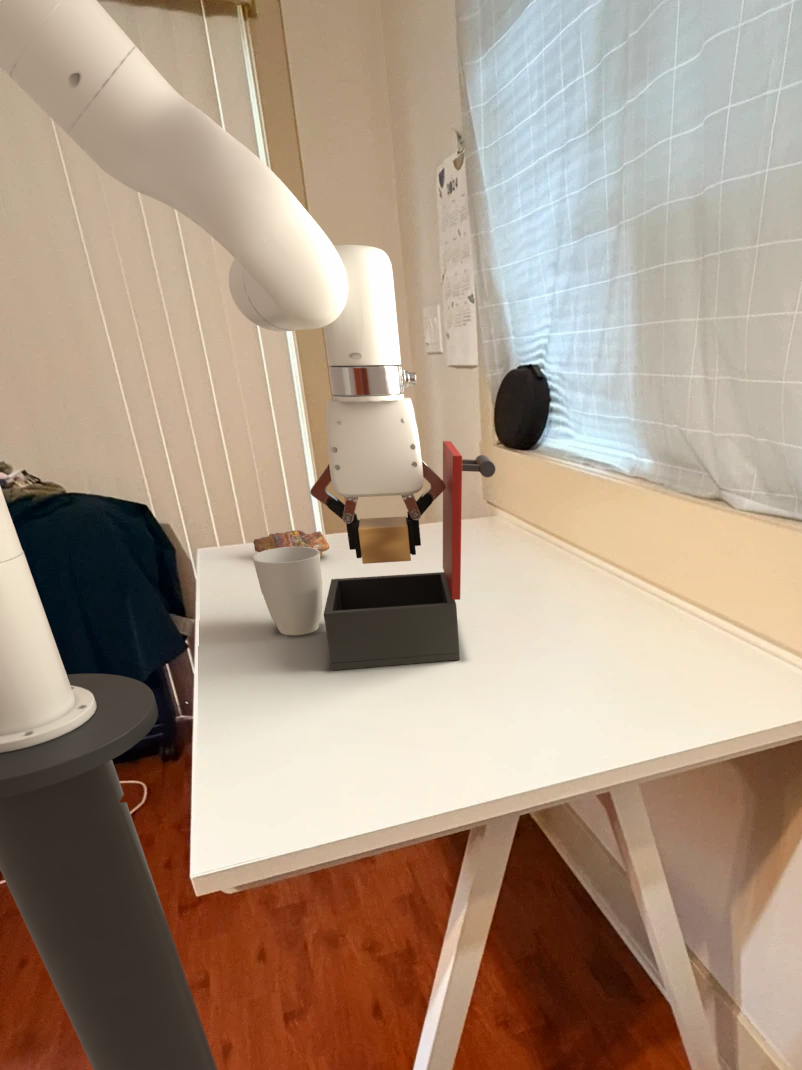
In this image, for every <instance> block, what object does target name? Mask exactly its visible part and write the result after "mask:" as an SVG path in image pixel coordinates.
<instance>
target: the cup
mask: <svg viewBox="0 0 802 1070" xmlns="http://www.w3.org/2000/svg"><path fill="white" fill-rule="evenodd" d="M252 560H253V566H254V569H255V573H256V576H257V580H258V584H259V588H260V591H261V593H262V596H263V599H264V602H265V605H266V607H267V610H268V612H269V615H270V616H271V619H272V620H273V622H274V624H275V625H276V627H277V629H278V631H279V632H280V634H282V635H284V636H303V635H309V634H311V633H313V632H316V631H317V630H319V627H320V622H321V615H322V610H323V575H322V564H321V557H320V552H319V550H317V549H314V548H310V547H281V548H274V549H269V550H265V551H262V552H257V553H255V554H253V556H252Z"/></svg>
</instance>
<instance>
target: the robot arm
mask: <svg viewBox="0 0 802 1070" xmlns="http://www.w3.org/2000/svg"><path fill="white" fill-rule="evenodd" d="M0 72H4V73H5V74H6V75H7V76H8V77H9V78H10V79H11V80H12V81H13V82H14V83H15V84H16V85H17V86H18V87H19V88H21V89H22V91H24V93H25V94H27V96H28V97H30V99H31V100H33V101H34V102H35V104H36V105H38V107H39V108H41V109H42V110H43V112H44V113H46V114H47V115H48V117H49V118H51V120H52V121H54V122H55V123H56V125H58V126H59V127H60V129H62V130H63V131H64V132H65V134H66V135H68V137H69V138H71V140H73V142H74V143H76V145H77V146H78V147H79V148H80V149H82V151H83V152H85V154H86V155H87V156H88V157H89V158H90V159H91V160H92V161H93V162H94V164H96V165H97V166H98V167H99V168H100V169H101V170H102V171H103V172H104V173H106V174H107V175H109V176H110V177H111V178H113V179H114V180H116V181H117V182H119V183H121V184H122V185H124V186H125V187H127V188H130V189H131V190H133V191H135V192H137V193H140V194H141V195H144V196H147V197H149V198H152V199H154V200H156V201H158V202H161V203H162V204H165V205H166V206H169V207H171V208H172V209H174V210H175V211H177V212H179V213H180V214H182V215H183V216H185V217H186V218H188V219H189V220H191V221H192V222H193V223H195V224H196V225H197V226H198V227H200V228H201V229H202V230H203V231H205V233H207V234H208V235H209V236H211V237H212V238H213V239H214V240H215V241H216V242H217V243H219V244H220V245H221V246H222V247H223V248H224V249H225V250H226V251H227V252H228V253H229V254H230V255H231V256H232V257H233V260H232V263H231V264H230V268H229V271H228V272H229V273H228V288H229V292H230V295H231V298H232V300H233V302H234V304H235V306H236V307H237V308H238V310H239V311H240V313H241V314H242V315H243V316H244V317H245V318H246V319H247V320H249V321H250V322H251V323H253V324H255V325H256V326H258V327H260V328H262V329H265V330H268V331H272V332H294V331H302V330H316V329H320V328H322V329H323V336H324V344H325V350H326V358H327V365H328V372H329V373H328V375H329V380H330V388H331V389H330V390H331V395H332V398H331V399H327V400H326V405H325V406H326V407H325V423H326V424H325V427H326V428H325V429H326V444H327V457H328V463H327V465H326V467H325V468H324V469H323V471H322V472H321V474H320V475H319V477H318V478H317V479H316V481H315V482H314V484H313V485H312V487H310V488H311V489H310V491H309V492H310V495H311V496H312V497H313V498H315V499H316V500H317V501H319V502H320V503H321V504H323V505H324V506H326V508H328V510H330V511H331V512H333V514H335V515H336V516H337V517H338V518H339V519H341V520H342V522H343V523H344V524H346V532H347V540H348V547H349V548H348V549H349V550H351V551H353V550H355V557H356V559H362V555H361V547H360V539H359V532H358V527H359V520H360V519H358V515H357V513H356V509H357V504H358V500H359V498H371V497H373V498H374V497H389V496H390V497H394V496H401V497H402V500H403V503H404V505H405V507H406V509H407V512H406V513H407V516H406V521H407V525H408V535H409V545H410V555H411V556H416V555H417V550H416V549H417V548H416V547H419V546H422V541H421V529H420V519H421V517H422V516H423V514H424V513H425V512H426V511H427V509H429V507H430V506H431V505H432V504H433V502H434V501H435V500H436V499H437V498H438V497H439V496H441V494H443V491H444V490H445V488H446V485H445V483H444V481H443V478H441V477H440V476H439V475H438V474H437V473H436V472H435V470H433V469H432V468H431V466H429V465H428V464H427V463H426V462H425V461H424V459H422V451H421V449H422V448H421V443H420V437H419V436H420V435H419V429H418V423H417V418H416V413H415V409H414V405H413V402H412V398H411V397H405V392H404V391H405V390H407V388H410V387H416V386H417V375H416V372H410V371H409V370H405V368H404V369H403V368H402V358H401V348H400V338H399V337H400V336H399V326H398V316H397V315H398V314H397V304H396V294H395V283H394V272H393V266H392V265H393V264H392V262H391V260H390V257H389V255H388V254H387V252H386V251H385V250H383V249H381V248H379V247H376V246H370V245H364V244H337V245H334V244H333V242H332V241H331V240H330V238H329V237H328V235H327V234H326V232H324V229H323V228H321V226H320V224H318V222H317V221H316V220H315V218H314V217H312V215H311V214H310V213H309V211H307V209H306V208H305V207H304V206H303V204H302V203H301V202H300V201H299V200H298V198H297V197H296V196H295V195H294V194H293V192H292V191H291V190H290V189H289V187H288V186H287V185H285V183H284V182H283V181H282V179H281V178H280V177H279V176H278V175H276V173H275V172H274V171H273V170H271V168H270V167H269V166H268V165H266V164H265V163H264V162H263V161H262V160H261V159H260V158H259V157H258V156H257V155H256V154H254V152H252V150H250V148H248V147H247V146H246V145H244V144H243V143H242V142H240V141H239V140H238V139H237V138H235V137H234V136H233V135H231V134H230V133H229V132H228V131H226V130H225V129H224V128H223V127H221V126H220V125H219V124H218V123H217V122H216V121H214V120H213V119H212V118H211V117H210V116H209V115H207V114H206V113H205V112H203V111H202V110H201V109H200V108H198V107H196V106H195V105H194V104H193V103H191V102H190V101H189V100H187V99H185V98H184V97H183V96H182V95H181V94H180V93H179V92H178V91H176V89H175V88H174V87H173V86H172V85H171V84H170V83H169V82H168V81H167V80H166V78H165V77H163V75H162V74H161V73H160V72H159V71H158V70H157V68H156V67H155V66H154V65H153V64H152V63H151V62H150V60H149V59H148V58H147V57H146V56H145V55H144V54H143V52H142V51H141V50H140V48H138V46H137V45H136V44H135V43H134V42H133V41H132V40H131V38H130V37H129V36H128V35H127V34H126V33H125V31H124V30H123V29H122V27H120V26H119V24H117V22H116V21H115V20H114V19H113V18H112V17H111V15H110V14H109V13H108V12H107V11H106V9H105V8H104V7H103V6H102V5H101V3H99V1H98V0H0ZM424 479H425V480H426V482H428V483H429V487H428V488H427V489H426V490H425V492H423V493H422V494H421V495H420V496H419V498H418V499H416V497H415V495H414V494H416V493H419V492H420V491H421V490H422V489H423V487H424ZM330 483H331V486H332V489H333V492H334V493H335V494H336V495H338V496H341V497H344V498H345V503H344V502H342V501H341V500H340V499H339V498H337V497H336V496H334V494H332V493H330V492H329V491H328V487H329V485H330ZM3 492H4V491H3V489H2V487H1V485H0V753H5V752H11V751H16V750H20V749H24V748H29V747H32V746H35V745H38V744H42V743H45V742H48V741H50V740H53V739H55V738H58V737H60V736H62V735H65V734H67V733H69V732H71V731H73V730H74V729H76V728H78V727H79V726H81V725H82V724H84V723H85V722H86V721H88V720H89V719H90V718H91V716H92V715H93V714H94V713H95V710H96V708H97V706H96V701H95V699H94V696H93V694H92V693H91V692H90V691H89V690H86V689H84V688H81V687H77V686H71V685H70V682H69V680H68V677H67V675H68V674H67V671H66V669H65V665H64V663H63V660H62V657H61V654H60V651H59V649H58V646H57V643H56V640H55V637H54V634H53V632H52V628H51V626H50V623H49V620H48V617H47V615H46V611H45V608H44V605H43V603H42V600H41V597H40V594H39V592H38V589H37V586H36V583H35V580H34V577H33V575H32V572H31V569H30V566H29V563H28V560H27V557H26V554H25V551H24V550H23V548H22V545H21V542H20V539H19V536H18V533H17V530H16V527H15V524H14V523H13V522H14V521H13V519H12V516H11V514H10V511H9V508H8V505H7V502H6V499H5V495H4V493H3Z"/></svg>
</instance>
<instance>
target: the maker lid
mask: <svg viewBox="0 0 802 1070" xmlns="http://www.w3.org/2000/svg"><path fill="white" fill-rule="evenodd" d="M462 455H463V454H461V453H460V451H459V449H458V448H457V447H456V446H455V445H454V443H453V442H452V441H449V440H443V441H442V480H443V481H444V483H445V485H446V488H445V490H444V491H443V492H442V570H443V572H444V574H445V577H446V581H447V584H448V588H449V591H450V595H451V599H452V600H455V601H456V600H457V601H458V600H461V588H462V587H461V580H462V576H461V575H462V511H463V510H462V507H463V506H462V505H463V504H462V503H463V472H475V473H480V475H481V476H482V477H485V478H491V477H493V476H494V475H495V474H496V465H495V463H494V462H492V460H491V459H490V458H489V457H488V456H487V455H484V454H480V455H478V456H476V458H475V459H468V458H467V459H466V458H465V459H464V458H463V456H462Z"/></svg>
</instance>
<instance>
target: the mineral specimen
mask: <svg viewBox="0 0 802 1070" xmlns="http://www.w3.org/2000/svg"><path fill="white" fill-rule="evenodd" d="M252 542H253V547H254V551H255V552H257V553H259V552H262V551H265V550H269V549H274V548H281V547H310V548H314V549H317V550H319V552H320V558H322V557H323V553H324V552H326V551H328V550H329V549H330V544H329V543H328V541H327V539H326V538H325V536H324V534H323V533H322V531H320V530H318V531H314V532H312V533H306V532H304V531H302V530H291V531H290V530H289V531H285V532H275V533H270V534H268V535H267V536H262V537H260V538H255V539H254V540H253V541H252Z"/></svg>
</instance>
